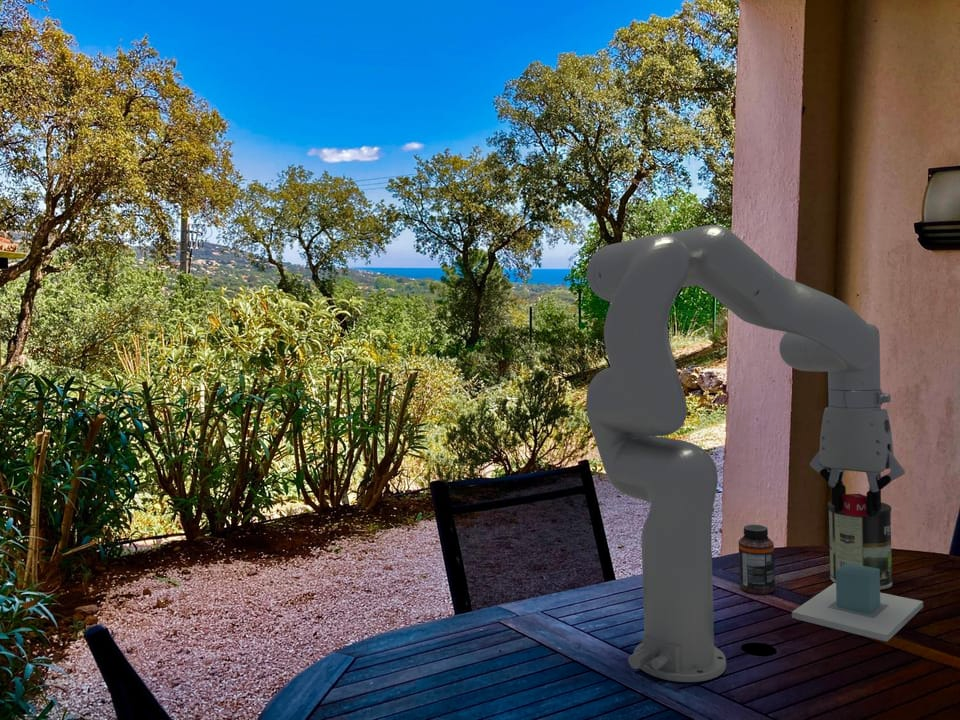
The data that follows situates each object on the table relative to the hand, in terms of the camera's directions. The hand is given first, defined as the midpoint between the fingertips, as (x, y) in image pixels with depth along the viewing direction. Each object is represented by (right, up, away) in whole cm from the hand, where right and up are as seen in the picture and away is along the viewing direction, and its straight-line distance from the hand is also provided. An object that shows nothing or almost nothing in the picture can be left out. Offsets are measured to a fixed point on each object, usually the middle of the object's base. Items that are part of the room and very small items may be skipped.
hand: (856, 511), depth 119 cm
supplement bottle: (-11, -17, +13) cm, 24 cm away
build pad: (+1, -17, +1) cm, 17 cm away
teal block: (+1, -16, +1) cm, 16 cm away
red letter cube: (0, -1, 0) cm, 1 cm away
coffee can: (+9, -16, +15) cm, 24 cm away
